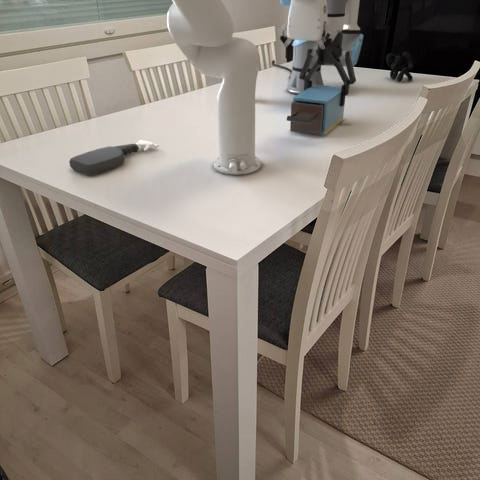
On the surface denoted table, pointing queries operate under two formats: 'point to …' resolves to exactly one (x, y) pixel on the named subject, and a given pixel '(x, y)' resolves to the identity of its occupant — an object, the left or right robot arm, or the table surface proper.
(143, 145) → the spray bottle
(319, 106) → the drawer
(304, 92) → the cabinet
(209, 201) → the table surface
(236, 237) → the table surface
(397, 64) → the squiggle
